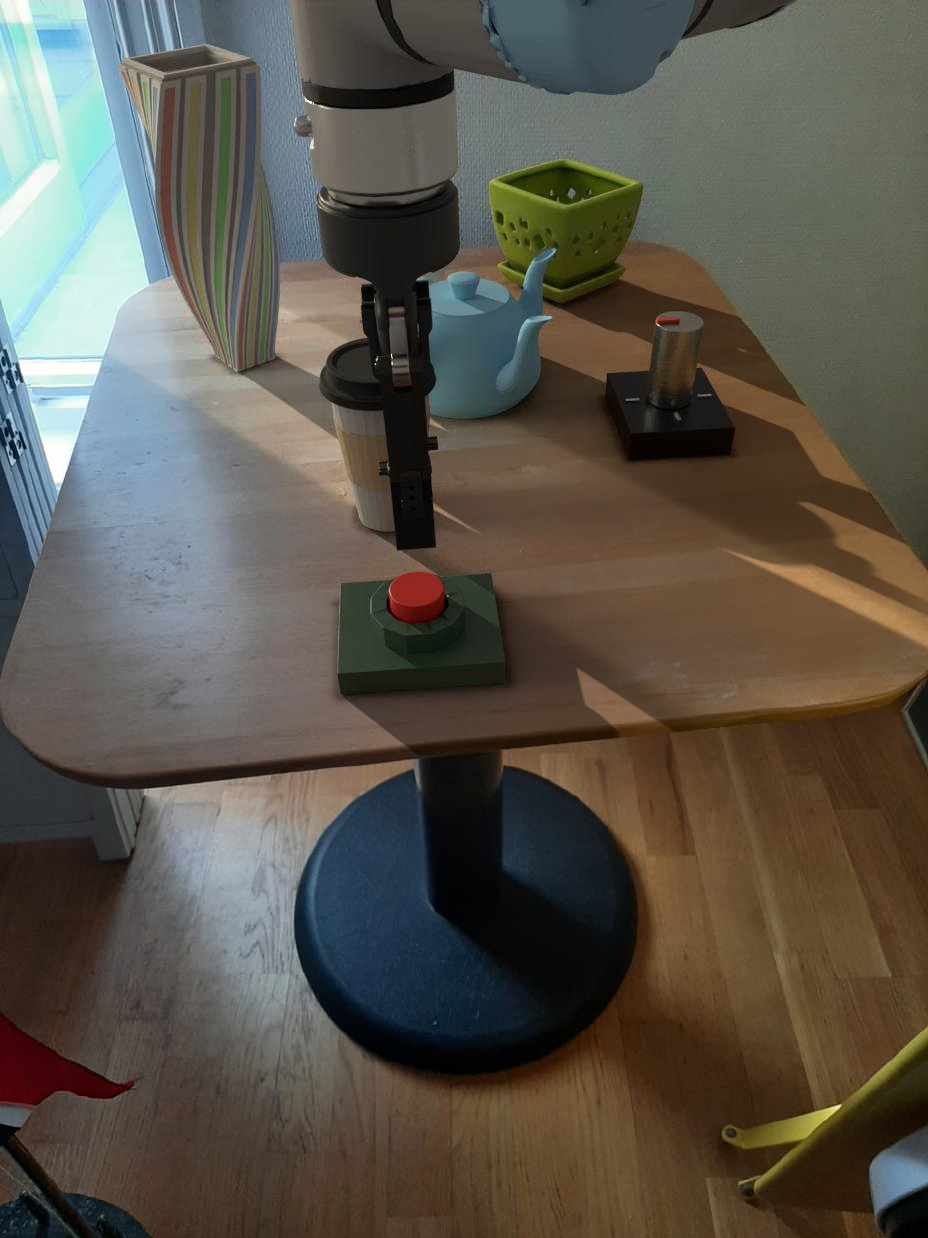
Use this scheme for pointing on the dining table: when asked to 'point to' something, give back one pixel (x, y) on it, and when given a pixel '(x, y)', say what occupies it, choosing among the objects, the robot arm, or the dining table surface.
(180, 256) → the vase
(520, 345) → the teapot
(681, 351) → the stove knob
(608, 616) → the dining table surface
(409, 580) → the button
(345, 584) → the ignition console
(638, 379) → the panel
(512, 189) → the flower pot
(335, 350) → the coffee cup
